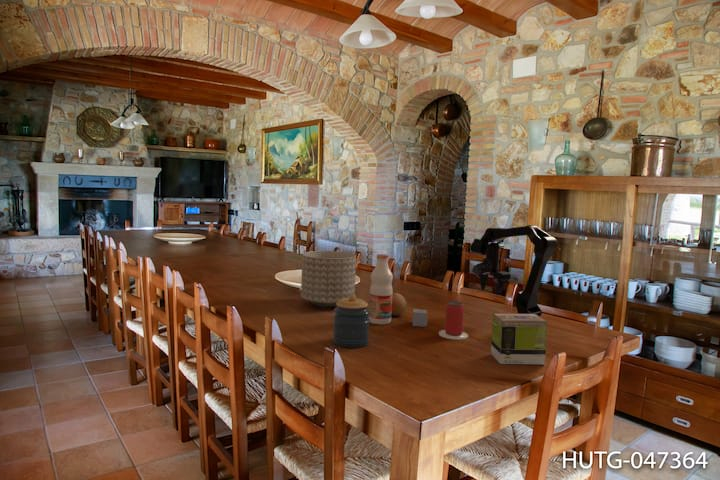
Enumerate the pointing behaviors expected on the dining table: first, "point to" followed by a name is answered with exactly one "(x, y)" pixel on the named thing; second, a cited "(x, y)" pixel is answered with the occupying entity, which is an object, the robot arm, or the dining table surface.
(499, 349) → the tea box
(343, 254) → the planter
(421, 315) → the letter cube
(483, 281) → the robot arm
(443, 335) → the coaster
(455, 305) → the beer can
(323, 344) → the dining table surface
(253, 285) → the dining table surface
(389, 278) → the fruit juice
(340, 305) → the canister
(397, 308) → the onion
